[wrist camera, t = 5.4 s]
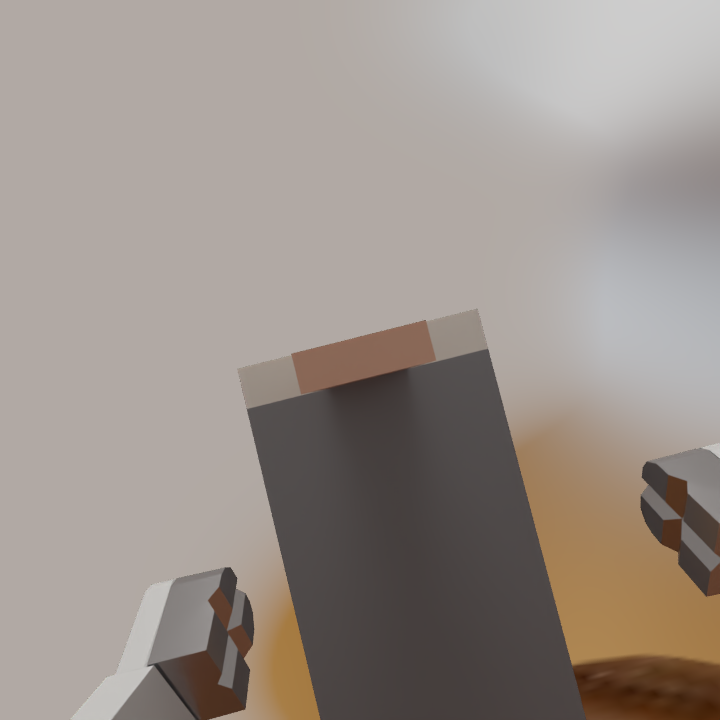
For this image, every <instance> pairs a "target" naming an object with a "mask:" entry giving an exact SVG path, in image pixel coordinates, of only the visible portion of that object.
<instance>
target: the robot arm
mask: <svg viewBox="0 0 720 720" xmlns="http://www.w3.org/2000/svg"><path fill="white" fill-rule="evenodd" d="M642 478H643V479H644V480H645V481H646V482H647V483H648V484H649V485H648V486H647V488H646V489H645V490H644V491H643V493H642V494H641V511H642V514H643V517H644V519H645V522H646V524H647V526H648V527H649V529H650V530H651V532H652V534H653V535H654V536H655V537H656V538H657V539H658V541H659V542H660V543H661V544H662V545H664V546H666V547H669V548H671V549H673V550H675V551H677V552H678V564H679V565H680V567H681V568H682V569H683V570H684V571H685V573H686V574H687V575H688V576H689V577H690V578H691V579H692V581H693V582H694V583H695V584H696V585H697V586H698V588H699V589H700V590H701V591H702V592H703V593H704V594H705V596H712V595H716V594H720V443H717V444H713V445H710V446H706V447H702V448H699V449H694V450H689V451H685V452H682V453H678V454H674V455H671V456H666V457H663V458H659V459H655V460H651V461H647V462H646V464H645V465H644V467H643V471H642ZM236 584H237V577H236V576H235V574H234V572H233V570H232V569H231V568H230V567H229V568H221V569H217V570H212V571H208V572H203V573H199V574H194V575H190V576H185V577H181V578H177V579H174V580H169V581H165V582H160V583H156V584H152V585H151V586H150V587H149V588H148V589H147V591H146V592H145V594H144V596H143V599H142V602H141V605H140V607H139V610H138V613H137V616H136V618H135V621H134V624H133V627H132V629H131V632H130V635H129V638H128V641H127V643H126V646H125V649H124V652H123V654H122V657H121V660H120V663H119V665H118V668H117V671H116V674H115V675H111V676H108V677H106V679H105V680H104V681H103V682H102V683H101V684H100V685H99V687H98V688H97V689H96V690H95V691H94V693H93V694H92V695H91V696H90V697H89V698H88V699H87V701H86V702H85V703H84V704H83V705H82V706H81V707H80V709H79V710H78V711H77V712H76V713H75V715H74V716H73V717H72V718H71V719H70V720H209V719H212V718H216V717H219V716H223V715H227V714H230V713H234V712H238V711H241V710H245V708H246V700H247V691H248V682H249V674H250V669H249V667H248V666H247V664H246V662H245V660H244V657H245V656H246V654H247V653H248V651H249V650H250V648H251V647H252V645H253V636H254V621H253V612H252V608H251V605H250V601H249V600H248V597H247V595H246V594H245V593H244V592H242V591H240V590H238V589H236Z"/></svg>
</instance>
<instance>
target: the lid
mask: <svg viewBox="0 0 720 720" xmlns="http://www.w3.org/2000/svg"><path fill="white" fill-rule="evenodd" d="M485 349H488V347H487V343H486V339H485V335H484V332H483V328H482V324H481V320H480V316H479V313H478V309H475V310H470V311H466V312H462V313H459V314H455V315H451V316H446V317H442V318H439V319H434V320H430V321H426V320H424V321H420V322H416V323H412V324H409V325H404V326H401V327H396V328H393V329H389V330H385V331H380V332H376V333H372V334H369V335H365V336H360V337H357V338H353V339H349V340H345V341H341V342H337V343H333V344H329V345H325V346H321V347H317V348H313V349H309V350H305V351H301V352H297V353H293V354H291V356H287V357H283V358H279V359H275V360H271V361H267V362H263V363H259V364H255V365H251V366H247V367H243V368H239V369H238V374H239V377H240V382H241V386H242V390H243V395H244V399H245V403H246V407H247V409H249V408H253V407H257V406H261V405H265V404H269V403H273V402H277V401H281V400H285V399H289V398H293V397H297V396H301V395H305V394H309V393H313V392H317V391H321V390H325V389H329V388H333V387H337V386H341V385H345V384H349V383H353V382H357V381H361V380H365V379H369V378H373V377H377V376H381V375H385V374H389V373H393V372H397V371H401V370H405V369H409V368H413V367H417V366H421V365H425V364H429V363H433V362H437V361H441V360H445V359H449V358H453V357H457V356H461V355H465V354H469V353H473V352H477V351H481V350H485Z"/></svg>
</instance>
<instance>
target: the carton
mask: <svg viewBox="0 0 720 720" xmlns="http://www.w3.org/2000/svg"><path fill="white" fill-rule="evenodd" d="M247 411H248V416H249V420H250V424H251V428H252V432H253V437H254V441H255V445H256V449H257V454H258V458H259V462H260V466H261V470H262V474H263V478H264V483H265V487H266V491H267V496H268V500H269V504H270V508H271V512H272V517H273V521H274V525H275V529H276V534H277V538H278V542H279V546H280V551H281V555H282V559H283V563H284V567H285V572H286V576H287V580H288V584H289V588H290V592H291V597H292V601H293V605H294V609H295V614H296V618H297V622H298V626H299V630H300V635H301V639H302V643H303V647H304V651H305V655H306V660H307V664H308V668H309V673H310V677H311V681H312V685H313V690H314V694H315V698H316V702H317V706H318V710H319V715H320V719H321V720H586V717H585V713H584V710H583V706H582V702H581V698H580V694H579V691H578V687H577V683H576V679H575V676H574V672H573V668H572V664H571V660H570V657H569V653H568V650H567V645H566V642H565V638H564V634H563V631H562V626H561V623H560V619H559V616H558V611H557V608H556V604H555V600H554V597H553V593H552V589H551V585H550V582H549V577H548V574H547V570H546V566H545V562H544V558H543V555H542V551H541V547H540V544H539V539H538V536H537V532H536V528H535V524H534V521H533V517H532V513H531V509H530V506H529V502H528V498H527V494H526V491H525V487H524V483H523V479H522V476H521V471H520V468H519V464H518V460H517V457H516V453H515V449H514V445H513V441H512V438H511V434H510V430H509V426H508V422H507V419H506V415H505V411H504V407H503V403H502V400H501V396H500V392H499V388H498V385H497V381H496V377H495V373H494V369H493V366H492V362H491V358H490V355H489V350H488V349H485V350H481V351H477V352H473V353H469V354H465V355H461V356H457V357H453V358H449V359H445V360H441V361H437V362H433V363H429V364H425V365H421V366H417V367H413V368H409V369H405V370H401V371H397V372H393V373H389V374H385V375H381V376H377V377H373V378H369V379H365V380H361V381H357V382H353V383H349V384H345V385H341V386H337V387H333V388H329V389H325V390H321V391H317V392H313V393H309V394H305V395H301V396H297V397H293V398H289V399H285V400H281V401H277V402H273V403H269V404H265V405H261V406H257V407H253V408H249V409H247Z"/></svg>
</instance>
